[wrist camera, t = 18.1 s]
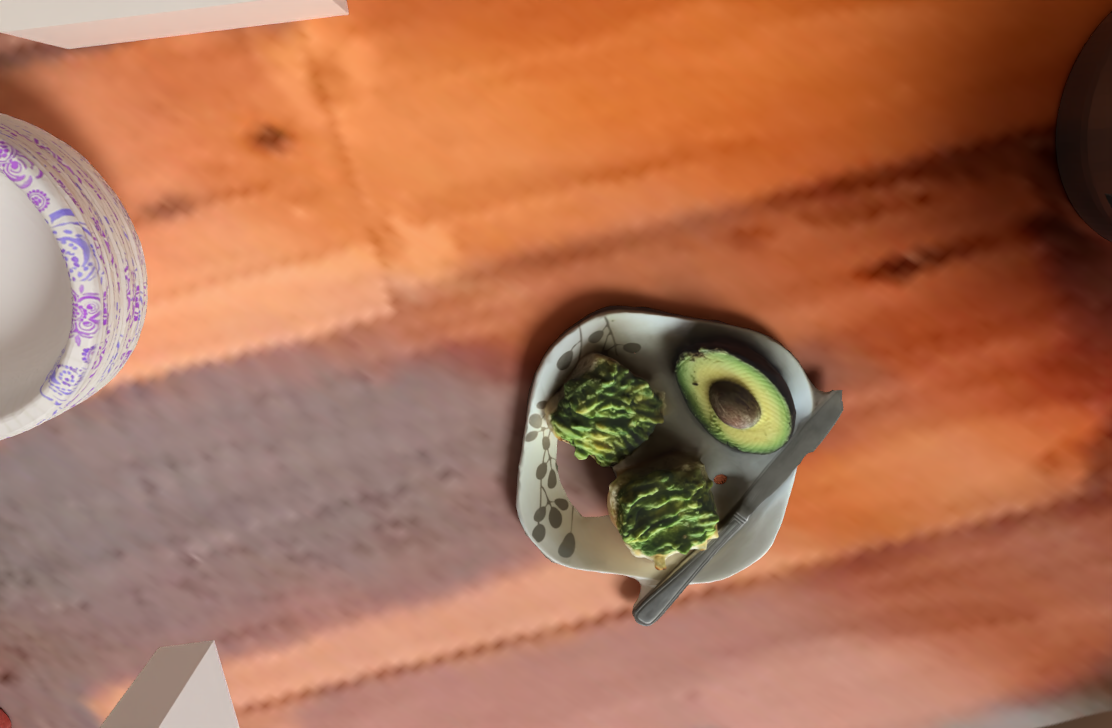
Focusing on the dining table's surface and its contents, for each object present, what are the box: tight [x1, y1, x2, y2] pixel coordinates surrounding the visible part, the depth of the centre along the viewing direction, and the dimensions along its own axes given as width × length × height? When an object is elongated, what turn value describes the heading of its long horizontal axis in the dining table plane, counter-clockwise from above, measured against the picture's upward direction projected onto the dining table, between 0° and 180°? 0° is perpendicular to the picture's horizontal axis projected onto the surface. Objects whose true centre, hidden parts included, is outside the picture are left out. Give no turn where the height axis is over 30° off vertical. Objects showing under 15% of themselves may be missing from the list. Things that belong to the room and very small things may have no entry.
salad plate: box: [516, 306, 843, 626], centre depth 42 cm, size 19×18×5 cm
